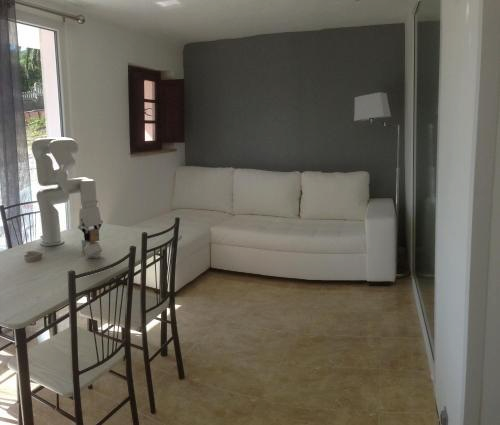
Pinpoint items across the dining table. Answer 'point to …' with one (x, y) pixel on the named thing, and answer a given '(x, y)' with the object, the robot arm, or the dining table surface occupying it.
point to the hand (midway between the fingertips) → (91, 238)
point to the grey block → (83, 244)
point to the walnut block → (93, 235)
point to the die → (92, 250)
